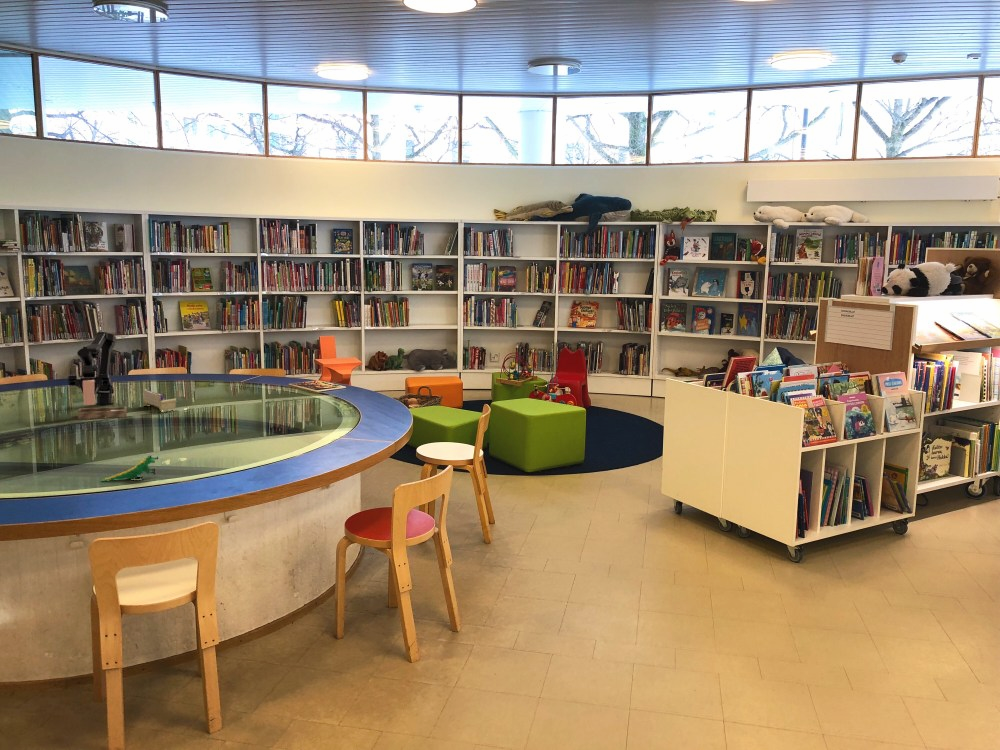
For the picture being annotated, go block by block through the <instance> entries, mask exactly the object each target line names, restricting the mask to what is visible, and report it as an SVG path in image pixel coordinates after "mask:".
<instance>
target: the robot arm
mask: <svg viewBox="0 0 1000 750" xmlns="http://www.w3.org/2000/svg"><path fill="white" fill-rule="evenodd" d="M116 343H117V337H116V335H115V334H112V333H109V332H108V331H97V332H96V336H95V337H94V338H93V341H92V342H91V343H90V344H89V345H87V346H83V347H82V348H80V349H78V351H77V353H76V354H77V356H78V359H79V360H80V362H81V363H82V370H81V371H82V373H81V376H78V375H77V374H69V375H68V376H67V382H68V386H70V387H71V386H75V387H78V388H79V390H80V391H81V394H82V395H83V380H94V384H95V389H94V393H95V395H96V394H97V396H96V402H95V405H99V406H108V405H109V406H110V405H114V402H112V394H114V393H115V388H114V385H113V384H112V380H111V378H110V366H111V355H112V354H111V353H112V350H113V349H114V347H115V345H116ZM96 359H97V360H99V359H100V362H99V367H98V364H96ZM98 371H99V372H98ZM96 372H98V375H97V376H96Z"/></svg>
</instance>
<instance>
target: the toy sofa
mask: <svg viewBox="0 0 1000 750" xmlns="http://www.w3.org/2000/svg"><path fill="white" fill-rule="evenodd" d="M142 397H143V407H144V406H147V405H154V406H153V407H156V408H158V409H159V412H160V411H162V410H168V409H172V408H176V409H177V406H176V405H177V403H176V402H177V398H170V399H165V398H164V394H162V393H158V392H154V391H151V390H149V389H146V388H144V389H143V395H142Z"/></svg>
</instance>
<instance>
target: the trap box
mask: <svg viewBox="0 0 1000 750" xmlns="http://www.w3.org/2000/svg"><path fill="white" fill-rule="evenodd" d="M127 409H128V407H127V406H111V407H110V406H109V407H106V406H105V407H89V408H87V407H86V408H83V407H82V408H78V412H77V420H88V419H89V420H91V419H90V418H98V419H108V418H107V417H119V418H127V415H128V414H127V413H128V410H127ZM125 416H126V417H125ZM105 417H106V418H105Z"/></svg>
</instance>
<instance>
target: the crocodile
mask: <svg viewBox="0 0 1000 750" xmlns="http://www.w3.org/2000/svg"><path fill="white" fill-rule="evenodd" d="M156 462H159V456H152V455H150V454H149V455H147V457H144V458H143V459H142V461H138V462H137V464H135V466H133V467H132V468H131V467H130V469H126V471H122V472H121V473H116V474H115V475H111V476H110V477H105V478H104V479H103V478H102V479H101V480H102V481H107V480H108V479H109V480H110V479H111V480H114V479H118V480H125V479H124V478H128V479H129V478H130V480H131V479H134V478H135V479H136V478H137V476H138V475H139V476H140V475H142V474H143V473H146V475H147V474H148V475H149V474H153V475H154V476H155V475H156V468H150V467H149V465H150V464H153V463H154V464H155V463H156ZM137 479H138V478H137Z"/></svg>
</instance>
